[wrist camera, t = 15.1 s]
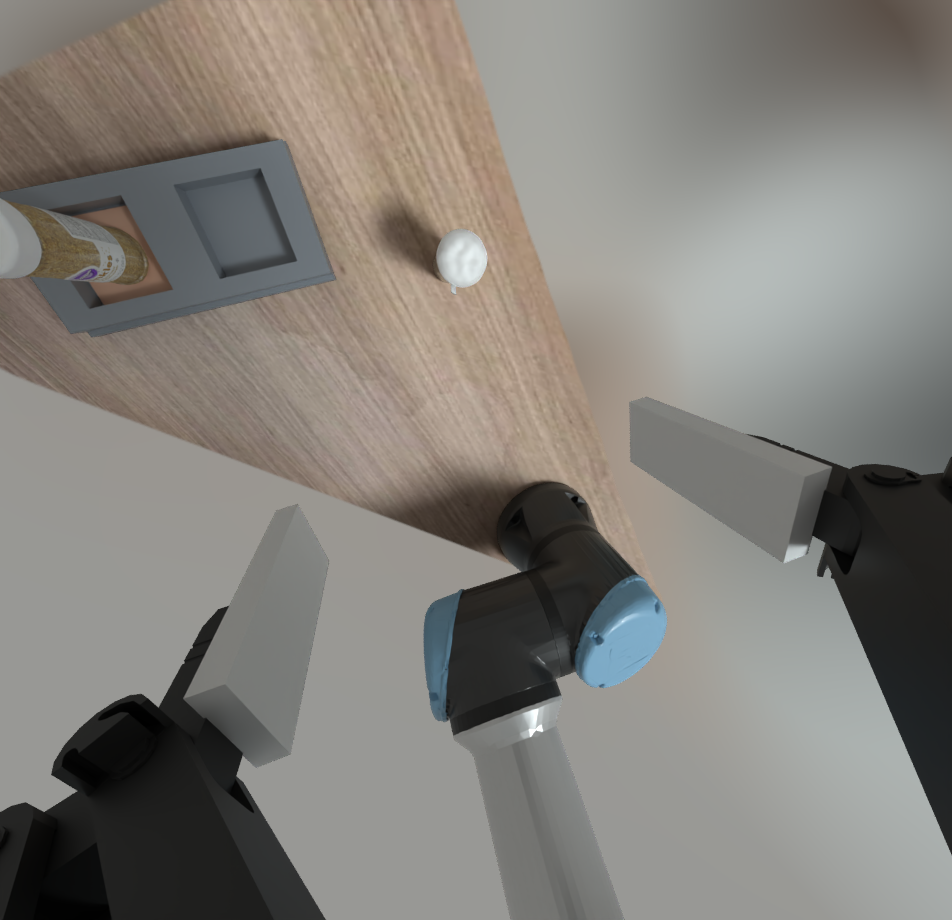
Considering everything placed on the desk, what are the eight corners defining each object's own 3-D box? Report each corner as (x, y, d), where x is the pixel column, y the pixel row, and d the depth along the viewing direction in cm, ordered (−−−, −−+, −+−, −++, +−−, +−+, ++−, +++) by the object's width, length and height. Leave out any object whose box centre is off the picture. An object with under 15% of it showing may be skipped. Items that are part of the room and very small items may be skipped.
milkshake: (418, 285, 39) (428, 282, 30) (435, 233, 37) (451, 213, 28) (456, 303, 40) (476, 304, 32) (473, 254, 39) (501, 241, 30)
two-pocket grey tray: (336, 279, 37) (332, 278, 34) (98, 336, 34) (74, 339, 31) (287, 145, 32) (279, 131, 29) (5, 199, 29) (-33, 189, 26)
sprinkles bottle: (132, 296, 33) (-14, 295, 21) (75, 253, 31) (-124, 223, 19) (163, 259, 32) (32, 235, 20) (106, 212, 30) (-77, 155, 18)
